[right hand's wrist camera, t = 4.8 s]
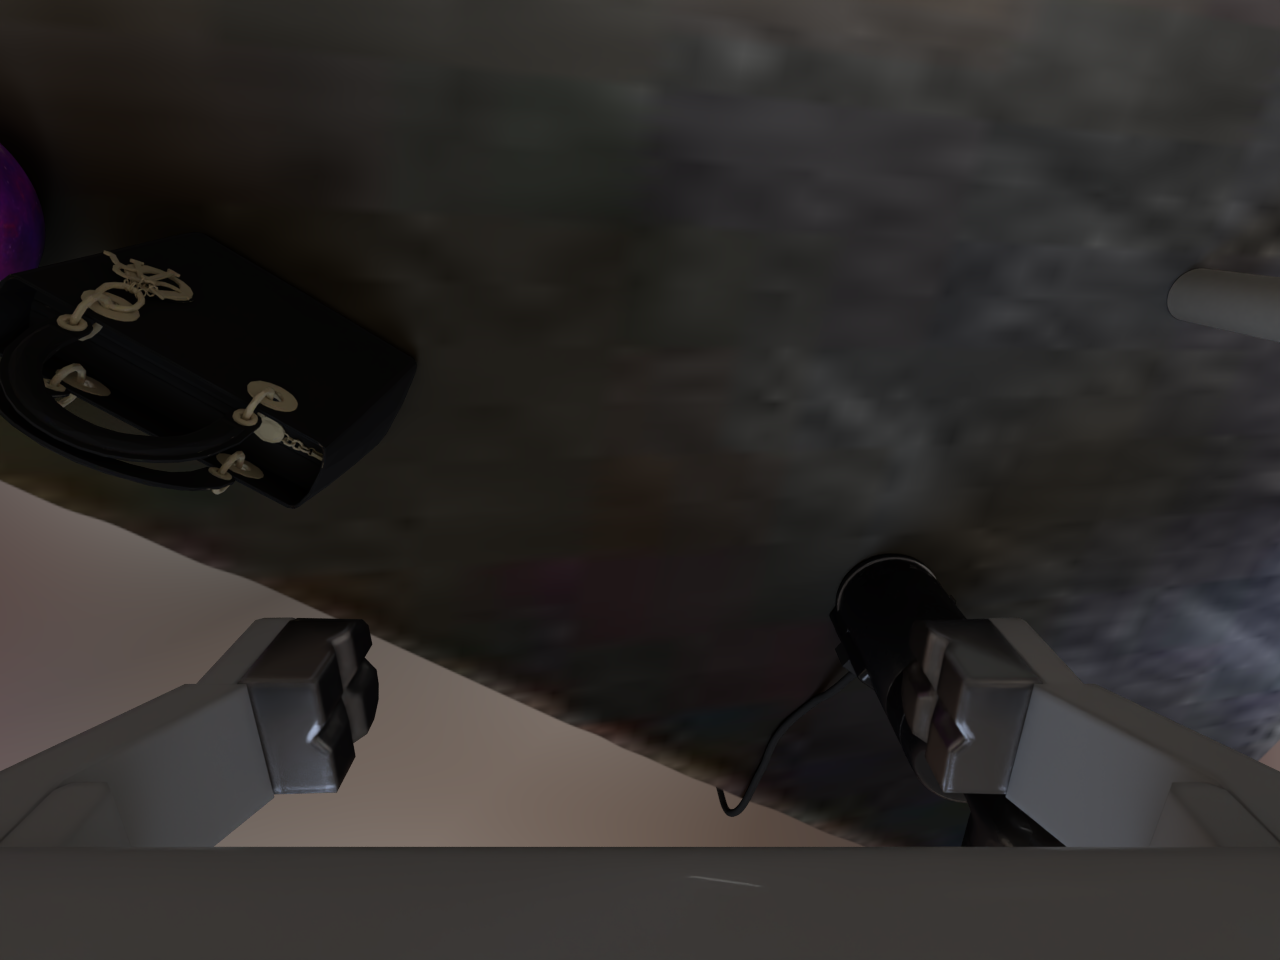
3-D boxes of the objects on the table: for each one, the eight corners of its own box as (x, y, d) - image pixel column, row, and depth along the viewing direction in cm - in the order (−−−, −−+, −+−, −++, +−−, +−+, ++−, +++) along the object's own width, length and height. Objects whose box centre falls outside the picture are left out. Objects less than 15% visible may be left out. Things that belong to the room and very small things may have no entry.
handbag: (432, 365, 57) (290, 477, 34) (384, 453, 60) (223, 613, 37) (187, 219, 53) (-164, 234, 30) (148, 321, 56) (-201, 407, 33)
